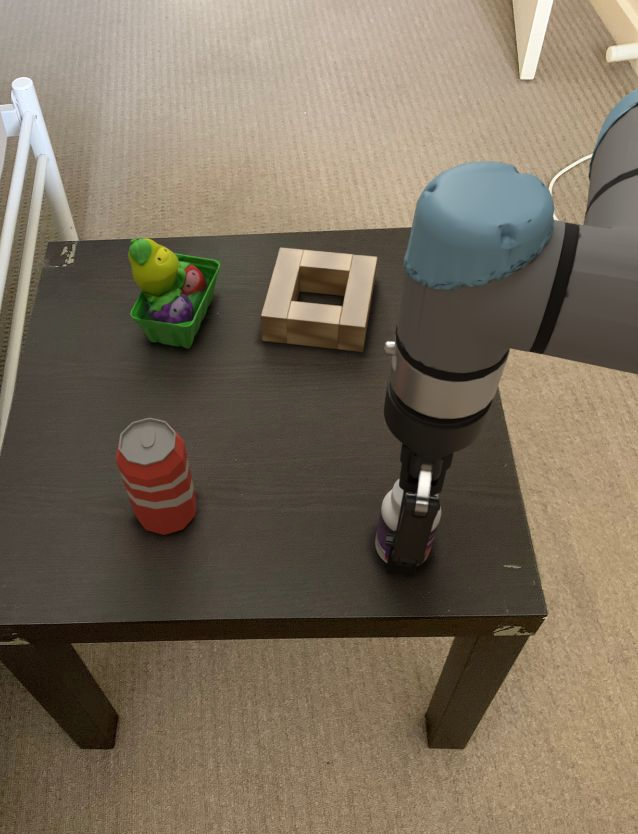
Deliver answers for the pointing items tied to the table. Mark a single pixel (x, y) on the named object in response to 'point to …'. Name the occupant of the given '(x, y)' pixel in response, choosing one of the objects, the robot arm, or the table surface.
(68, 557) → the table surface
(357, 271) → the block
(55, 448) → the table surface
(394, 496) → the pill bottle
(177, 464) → the beverage can
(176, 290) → the fruit basket
